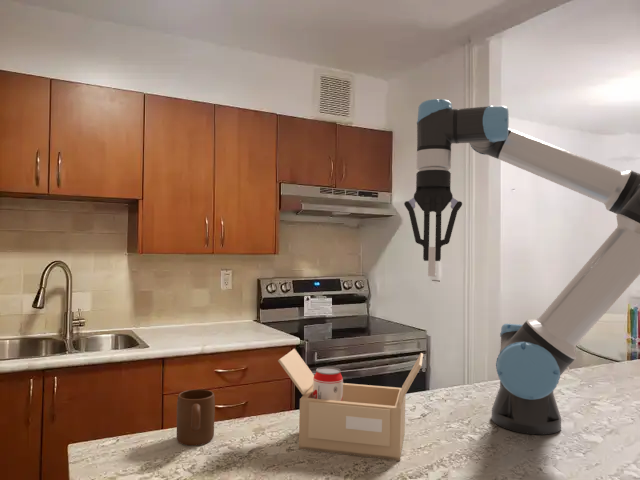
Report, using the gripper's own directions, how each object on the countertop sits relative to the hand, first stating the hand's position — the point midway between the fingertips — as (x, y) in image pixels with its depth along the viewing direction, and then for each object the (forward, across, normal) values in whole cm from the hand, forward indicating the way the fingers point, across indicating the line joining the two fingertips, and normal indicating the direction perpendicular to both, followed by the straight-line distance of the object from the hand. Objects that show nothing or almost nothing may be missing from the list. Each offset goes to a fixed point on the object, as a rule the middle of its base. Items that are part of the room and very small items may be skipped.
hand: (431, 275), depth 116 cm
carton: (+34, +15, +12) cm, 39 cm away
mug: (+35, +46, +22) cm, 62 cm away
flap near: (+20, +4, +12) cm, 23 cm away
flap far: (+20, +27, +12) cm, 36 cm away
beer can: (+36, +21, +13) cm, 43 cm away
